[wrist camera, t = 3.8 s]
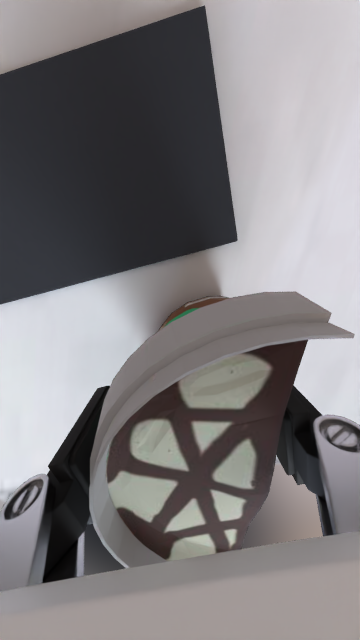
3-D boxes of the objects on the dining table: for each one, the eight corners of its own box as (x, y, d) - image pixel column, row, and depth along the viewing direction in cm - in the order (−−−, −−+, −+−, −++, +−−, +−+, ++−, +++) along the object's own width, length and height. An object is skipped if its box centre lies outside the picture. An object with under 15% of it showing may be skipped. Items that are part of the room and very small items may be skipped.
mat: (-26, 311, 13) (-30, 312, 13) (-141, 129, 10) (-150, 124, 10) (236, 241, 12) (237, 240, 12) (203, 13, 9) (204, 4, 9)
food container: (141, 269, 13) (26, 283, 3) (225, 275, 13) (366, 307, 3) (140, 407, 16) (86, 609, 7) (205, 410, 16) (245, 611, 7)
